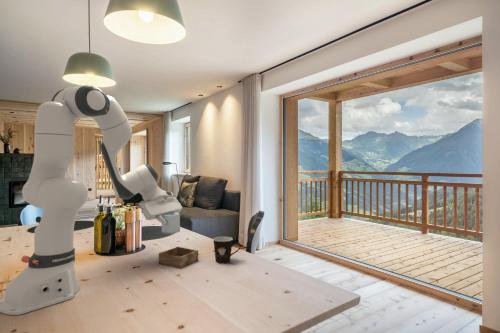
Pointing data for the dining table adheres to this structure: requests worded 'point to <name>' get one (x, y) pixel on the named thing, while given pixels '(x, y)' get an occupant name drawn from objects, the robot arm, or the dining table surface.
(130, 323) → the dining table surface
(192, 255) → the brown wooden tray
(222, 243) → the coffee mug
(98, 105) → the robot arm
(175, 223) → the grey piece
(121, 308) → the dining table surface
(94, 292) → the dining table surface
